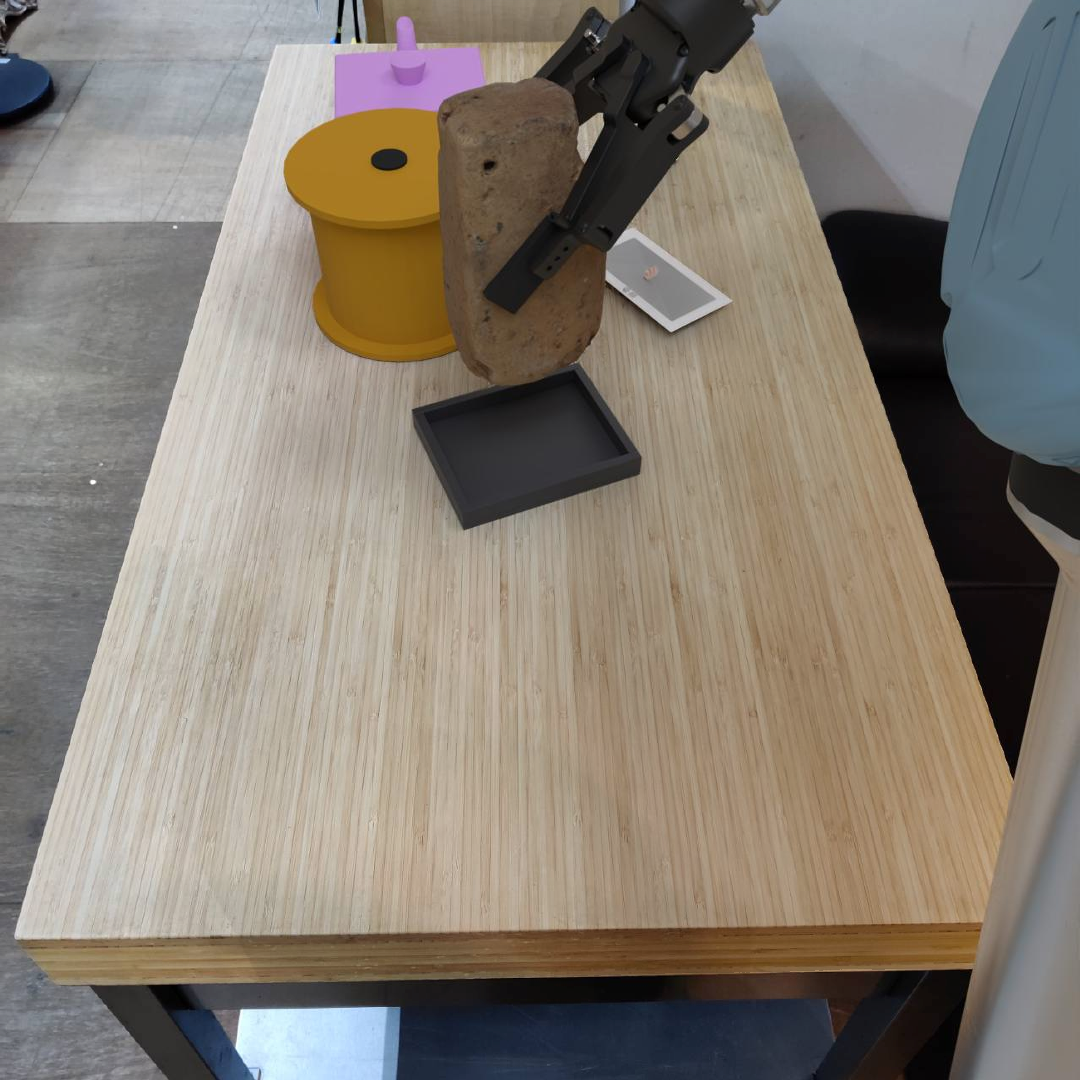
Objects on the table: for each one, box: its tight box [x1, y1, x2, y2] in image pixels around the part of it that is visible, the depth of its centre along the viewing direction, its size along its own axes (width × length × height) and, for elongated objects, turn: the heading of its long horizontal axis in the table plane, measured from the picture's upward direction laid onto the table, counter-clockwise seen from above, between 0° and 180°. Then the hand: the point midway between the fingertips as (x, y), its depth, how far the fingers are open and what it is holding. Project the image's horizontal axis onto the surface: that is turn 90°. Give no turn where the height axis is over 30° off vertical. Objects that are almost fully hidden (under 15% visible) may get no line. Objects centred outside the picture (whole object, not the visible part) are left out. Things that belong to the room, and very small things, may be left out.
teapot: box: [333, 15, 487, 119], centre depth 104 cm, size 15×25×14 cm, turn 7°
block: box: [437, 76, 607, 386], centre depth 67 cm, size 11×8×20 cm
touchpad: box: [605, 226, 733, 333], centre depth 97 cm, size 8×15×2 cm, turn 36°
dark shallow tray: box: [411, 361, 643, 531], centre depth 83 cm, size 13×16×2 cm
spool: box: [282, 108, 458, 363], centre depth 90 cm, size 18×18×15 cm
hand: (476, 268), depth 67 cm, fingers closed on block, 7 cm apart
